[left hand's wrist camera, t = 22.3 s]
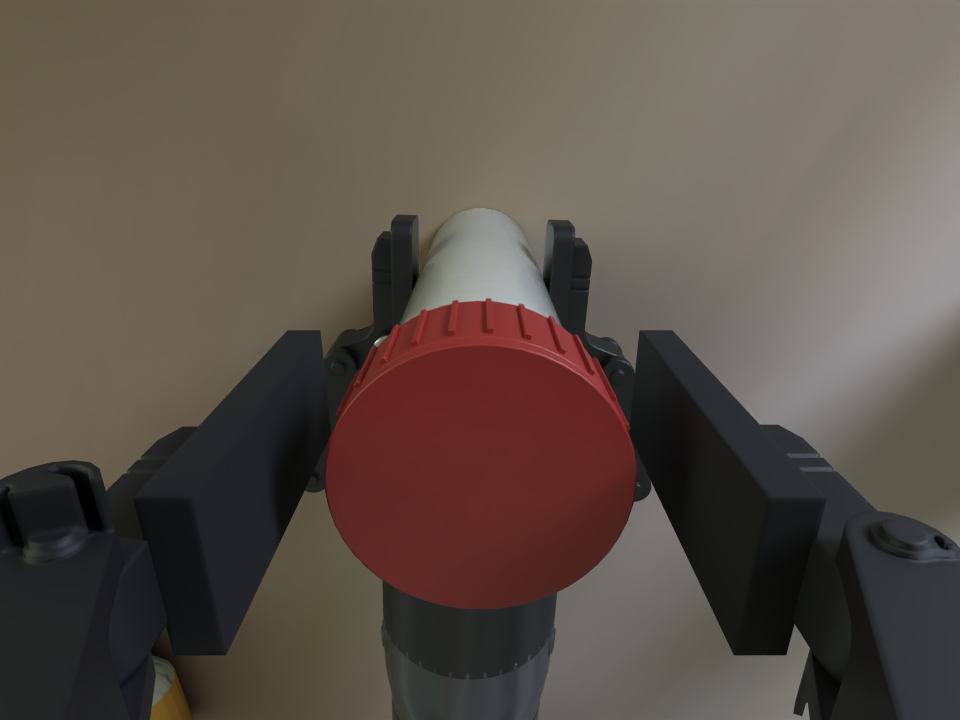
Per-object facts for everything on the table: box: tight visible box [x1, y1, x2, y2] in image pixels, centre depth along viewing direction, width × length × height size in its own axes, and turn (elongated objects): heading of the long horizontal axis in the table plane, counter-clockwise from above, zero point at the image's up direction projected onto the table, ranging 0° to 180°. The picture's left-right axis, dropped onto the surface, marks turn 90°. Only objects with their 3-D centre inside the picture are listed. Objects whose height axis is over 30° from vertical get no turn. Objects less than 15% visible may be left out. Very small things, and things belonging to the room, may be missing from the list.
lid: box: [324, 298, 637, 609], centre depth 11 cm, size 5×6×2 cm
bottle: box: [399, 208, 562, 326], centre depth 19 cm, size 5×5×18 cm
